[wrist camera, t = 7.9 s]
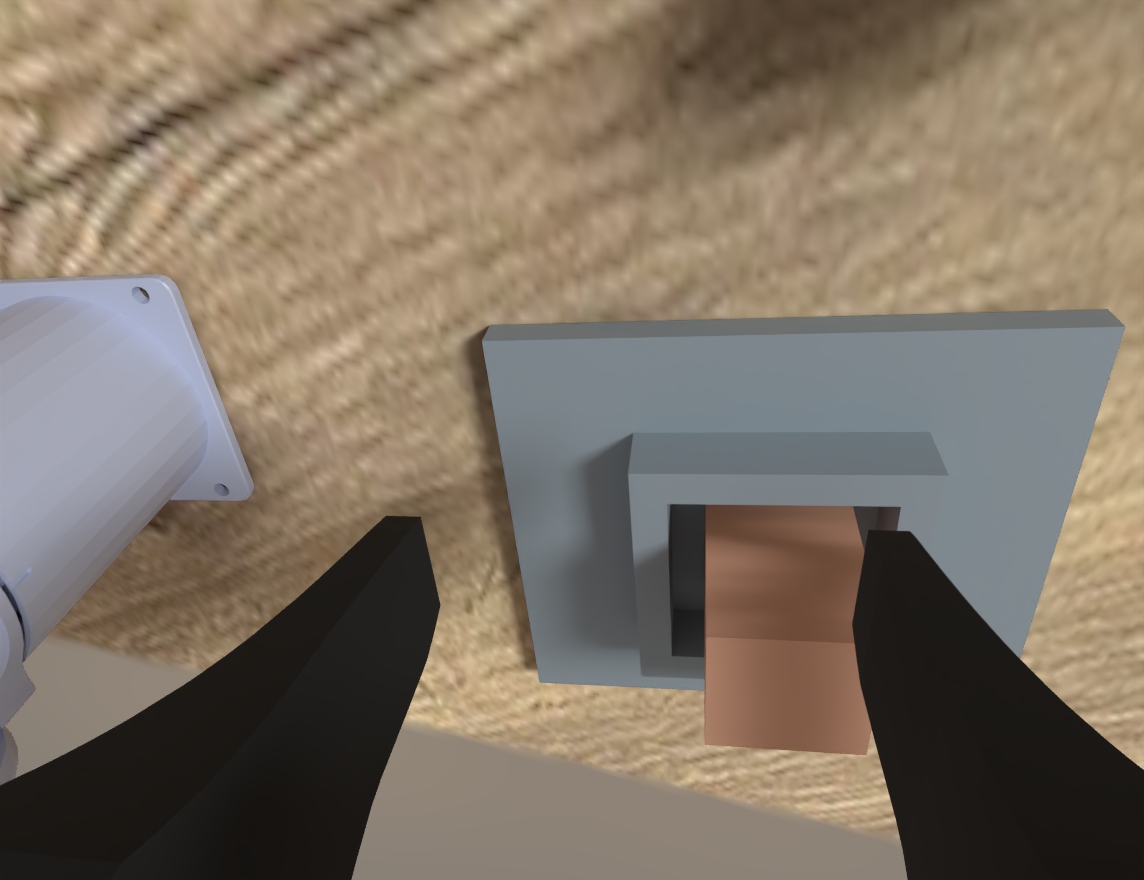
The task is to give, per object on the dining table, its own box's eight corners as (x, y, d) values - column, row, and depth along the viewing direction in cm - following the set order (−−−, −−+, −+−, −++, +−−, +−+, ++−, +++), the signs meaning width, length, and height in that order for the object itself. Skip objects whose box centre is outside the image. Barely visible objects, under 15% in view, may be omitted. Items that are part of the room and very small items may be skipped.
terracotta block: (704, 582, 25) (705, 744, 21) (705, 482, 23) (706, 636, 18) (833, 586, 25) (866, 754, 20) (847, 484, 23) (887, 644, 18)
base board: (544, 661, 30) (529, 728, 28) (489, 325, 23) (463, 376, 20) (996, 681, 28) (1024, 757, 25) (1108, 309, 20) (1165, 366, 17)
